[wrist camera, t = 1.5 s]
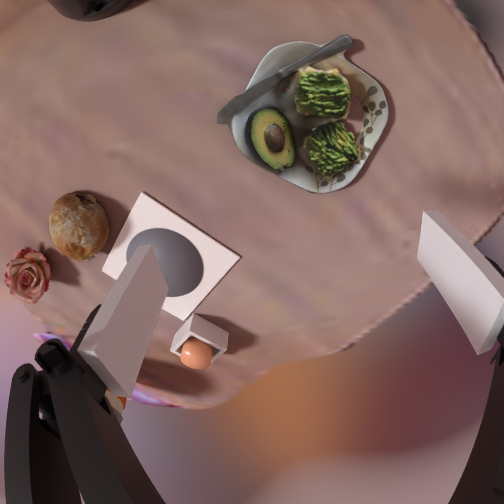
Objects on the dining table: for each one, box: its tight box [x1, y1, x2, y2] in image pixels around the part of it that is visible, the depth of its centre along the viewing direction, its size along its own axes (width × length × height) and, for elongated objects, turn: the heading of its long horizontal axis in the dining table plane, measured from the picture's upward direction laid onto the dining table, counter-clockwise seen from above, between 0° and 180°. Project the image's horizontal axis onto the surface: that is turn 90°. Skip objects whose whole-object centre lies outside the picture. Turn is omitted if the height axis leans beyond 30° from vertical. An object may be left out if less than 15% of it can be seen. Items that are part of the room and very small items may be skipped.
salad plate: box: [217, 34, 388, 193], centre depth 28 cm, size 19×18×5 cm
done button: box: [180, 337, 213, 369], centre depth 45 cm, size 5×5×3 cm
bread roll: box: [49, 193, 110, 262], centre depth 36 cm, size 10×10×8 cm
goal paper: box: [102, 192, 240, 321], centre depth 41 cm, size 16×16×1 cm
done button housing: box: [170, 313, 229, 363], centre depth 47 cm, size 7×7×4 cm
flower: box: [5, 247, 51, 304], centre depth 40 cm, size 10×9×8 cm
